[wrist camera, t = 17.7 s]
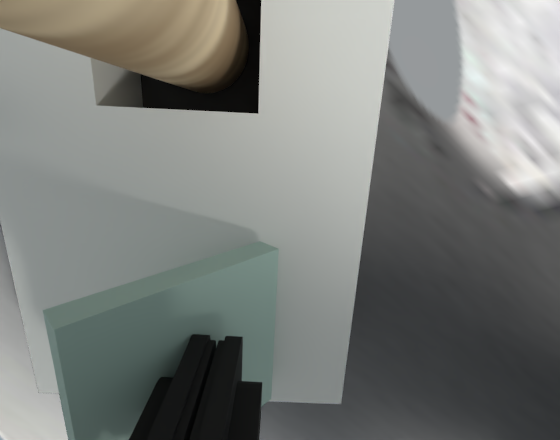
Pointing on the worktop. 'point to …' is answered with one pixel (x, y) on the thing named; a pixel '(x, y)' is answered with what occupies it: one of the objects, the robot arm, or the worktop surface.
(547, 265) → the worktop surface
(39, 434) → the worktop surface
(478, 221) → the worktop surface
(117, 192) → the block
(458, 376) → the worktop surface
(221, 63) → the dowel
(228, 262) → the latch flap
